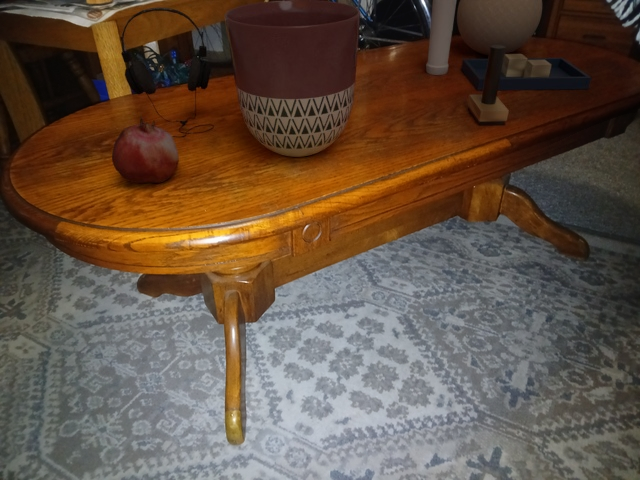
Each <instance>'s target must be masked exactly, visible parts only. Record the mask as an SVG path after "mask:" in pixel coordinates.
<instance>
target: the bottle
mask: <svg viewBox="0 0 640 480" xmlns="http://www.w3.org/2000/svg"><path fill="white" fill-rule="evenodd" d="M456 7H457V0H432V5H431V17H430V31H429V32H430V33H429V41H428V42H429V43H428V53H427V54H428V56H427V62H426V63H425V64H426V65H425V70H426V73H427V74H428V75H431V76H443V75H446V74H448V71H449V63H448V62H449V56H450V49H451V43H452V37H453V36H452V35H453V29H454V23H455V21H454V20H455V14H456Z"/></svg>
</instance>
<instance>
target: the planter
mask: <svg viewBox="0 0 640 480" xmlns="http://www.w3.org/2000/svg"><path fill="white" fill-rule="evenodd" d="M224 22H225V23H224V24H225V29H226V36H227V41H228V48H229V52H230V53H229V54H230V59H231V65H232V72H233V78H234V84H235V90H236V96H237V101H238V105H239V110H240V112H241V115H242V119H243V121H244V123H245V125H246V127H247V129H248V131H249V133H251V135H252V137H253V138H254V139H255V140H256V141H257V142H258V143H260V144H261V145H262V146H264V147H265V148H266V149H268V150H269V151H271V152H273V153H276V154H277V155H281V156H284V157H293V158H294V157H295V158H296V157H297V158H298V157H306V156H312V155H315V154H318V153H320V152H323V151H324V150H326V149H327V148H328V147H330V146H331V145H332V144H333V143H334V142H336V141H337V140H338V138H340V136H341V135H342V133H343V132H344V130H345V129H346V127H347V125H348V123H349V120H350V117H351V114H352V110H353V106H354V99H355V89H356V88H355V86H356V78H357V64H358V50H359V40H360V39H359V38H360V30H361V29H360V27H361V11H360V9H359V8H358V7H356V6H353V5H351V4H347V3H342V2H336V1H327V0H273V1H272V0H271V1H261V2H255V3H250V4H249V3H248V4H244V5H240V6H236V7H233V8H231V9H229V10H228V11H226V13H224Z"/></svg>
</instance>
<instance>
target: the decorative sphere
mask: <svg viewBox="0 0 640 480" xmlns="http://www.w3.org/2000/svg"><path fill="white" fill-rule="evenodd" d="M542 13H543V0H459V2H458V6H457V12H456V23H457V29H458V33H459V34H460V37H461V38H462V40H463V42H464V43H465V44H466V45H467V46H468V47H469V48H470V49H472V50H473V51H474V52H476V53H479V54H481V55H485V56H489V51H490V46H491V45H503V46H505V47H506V48H505V54H511V53H512V52H514V51H516V50H518V49H519V48H521V47H523V46H524V45H525V44H526V43H527V42H528V41H529V40H530V39H531V38H532V36H533V35H534V34H535V32H536V30H537V28H538V26H539V24H540V21H541V18H542Z"/></svg>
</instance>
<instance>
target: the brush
mask: <svg viewBox="0 0 640 480" xmlns="http://www.w3.org/2000/svg"><path fill="white" fill-rule="evenodd" d="M505 48H506V47H505V46H503V45H491V46H490V51H489V55H488V56H487V57H488V58H487V59H488V63H487V69H486V75H485V81H484V87H483V91H482V94H481V93H480V94H476V93H475V94H468V99H467V106H468V107H467V108H468V110H469V113H470V114H471V115H472V116H473V118H474V119H475V121H476V122H477V124H478V126H505V125H506V122H507V121H508V117H509V112H510V110H509V109H508V108H507V106H505V104H504V103H503V102H502V101H501V99H500V98H499V97H498V93H499V92H498V91H499V90H498V86H499V81H500V76H501V70H502V65H503V59H504V54H505Z"/></svg>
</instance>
